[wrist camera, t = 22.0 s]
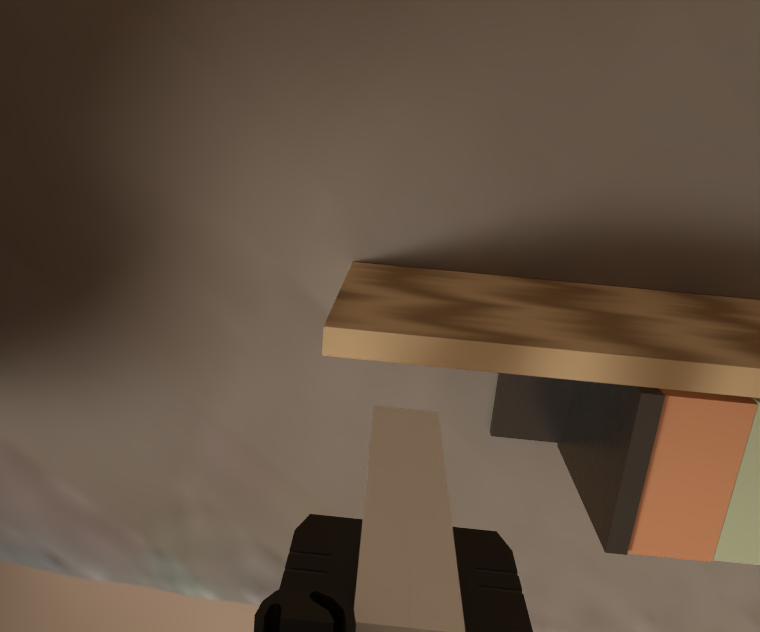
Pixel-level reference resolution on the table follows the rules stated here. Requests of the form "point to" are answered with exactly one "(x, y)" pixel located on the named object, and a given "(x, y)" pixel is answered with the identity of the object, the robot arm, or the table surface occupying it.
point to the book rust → (691, 474)
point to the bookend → (588, 440)
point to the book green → (744, 506)
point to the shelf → (547, 329)
